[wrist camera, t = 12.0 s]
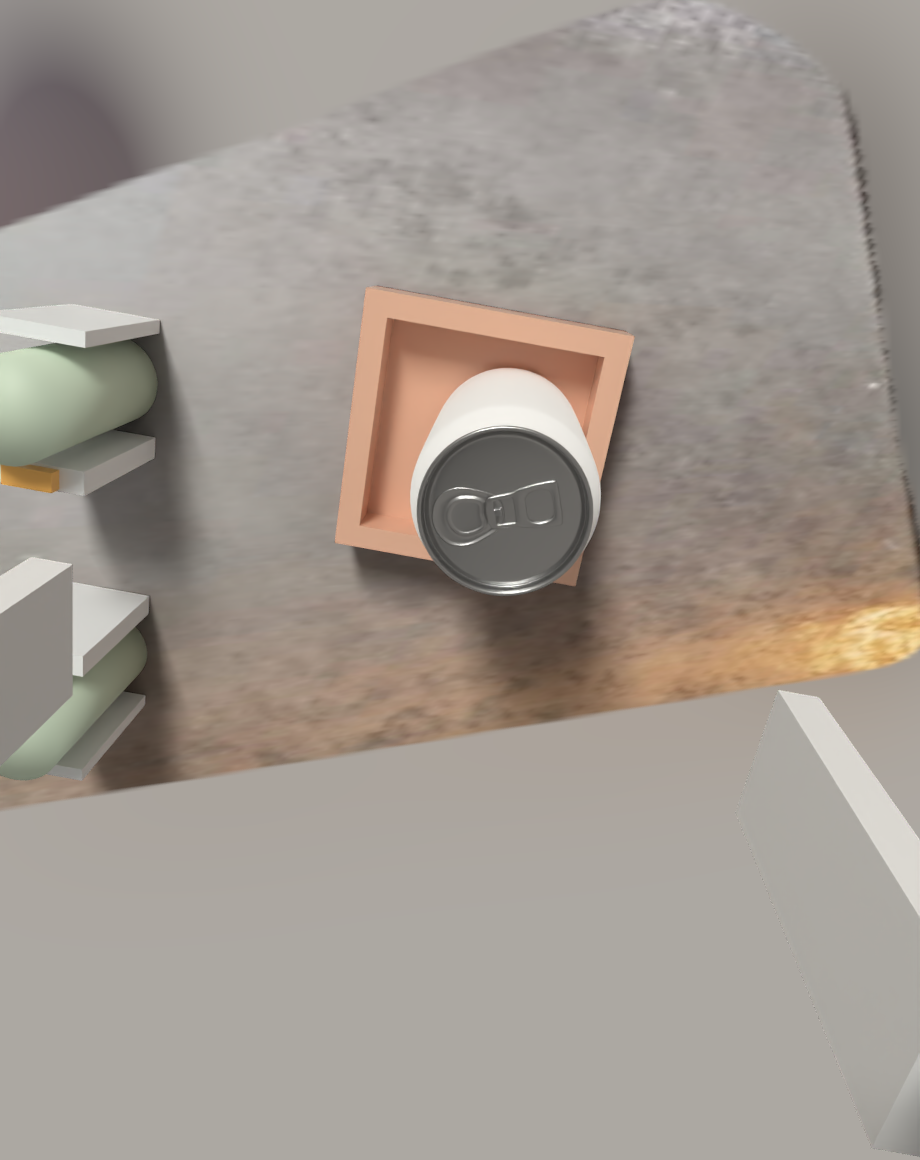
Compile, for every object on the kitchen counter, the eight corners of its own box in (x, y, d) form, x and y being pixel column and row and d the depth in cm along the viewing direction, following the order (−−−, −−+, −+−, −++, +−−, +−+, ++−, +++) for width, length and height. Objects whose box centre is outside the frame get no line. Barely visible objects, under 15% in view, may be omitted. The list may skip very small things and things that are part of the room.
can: (422, 379, 37) (384, 430, 26) (569, 353, 36) (594, 395, 25) (449, 518, 39) (424, 621, 28) (587, 497, 38) (618, 593, 27)
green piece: (72, 414, 39) (-47, 456, 31) (71, 327, 38) (-55, 346, 30) (156, 428, 39) (59, 474, 31) (158, 341, 38) (57, 365, 30)
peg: (71, 675, 44) (-32, 770, 36) (71, 606, 43) (-36, 689, 35) (145, 688, 44) (59, 787, 36) (148, 620, 43) (59, 707, 35)
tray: (347, 523, 40) (334, 542, 38) (377, 285, 37) (366, 287, 34) (571, 564, 40) (575, 586, 38) (625, 330, 37) (634, 336, 34)
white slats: (71, 691, 45) (-13, 772, 38) (72, 303, 38) (-31, 313, 30) (145, 705, 45) (75, 788, 38) (159, 319, 38) (77, 332, 30)
